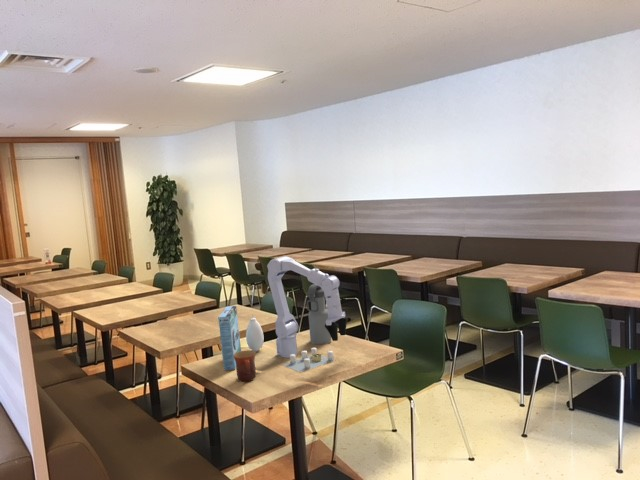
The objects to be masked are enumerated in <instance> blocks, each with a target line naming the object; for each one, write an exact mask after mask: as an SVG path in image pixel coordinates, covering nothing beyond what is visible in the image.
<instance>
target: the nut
mask: <svg viewBox="0 0 640 480" xmlns="http://www.w3.org/2000/svg"><path fill="white" fill-rule="evenodd" d="M310 356H311V358H312V361H313V362H318V361H321V360H322V356H323V355H322V353H321V354H320V353H317V354H313V355H310Z"/></svg>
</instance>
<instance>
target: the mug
mask: <svg viewBox="0 0 640 480" xmlns="http://www.w3.org/2000/svg"><path fill="white" fill-rule="evenodd" d="M256 352H257V351H256ZM256 352H255V351H252V350H251V349H249V350H241V351H240V352H237V353H235V354H234V355H233V357H234V359H235V362H236V368H235V370H236V377H237V380H238V381H239V382H242V383H247V382H251V381H253V380H254V379H256V375H257V372H256V370H257V369H256V365H255V364H256V363H255V360H256Z"/></svg>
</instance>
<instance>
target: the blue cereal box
mask: <svg viewBox="0 0 640 480" xmlns="http://www.w3.org/2000/svg"><path fill="white" fill-rule="evenodd" d="M218 325H219V333H220V334H219V336H220V345H221V354H222V364H223V365H222V366H223V371H232V370H236V362H235V359H234V357H233V355H234V354H235V353H237V352H240V351H242V347H241V339H240V327H239V319H238V310H237V305H231V306H226V307H224V310H223V311H222V312H221V313H220V314H219V316H218Z"/></svg>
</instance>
